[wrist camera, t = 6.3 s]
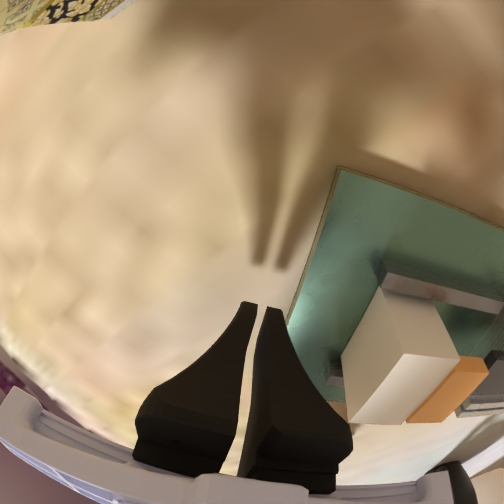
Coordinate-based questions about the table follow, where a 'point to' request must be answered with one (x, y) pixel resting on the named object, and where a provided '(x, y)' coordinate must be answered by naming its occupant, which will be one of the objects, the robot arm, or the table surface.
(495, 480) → the cylinder
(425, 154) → the table surface
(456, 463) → the mug
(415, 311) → the block
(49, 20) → the ceramic cup
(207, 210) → the table surface
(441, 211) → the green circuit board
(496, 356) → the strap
